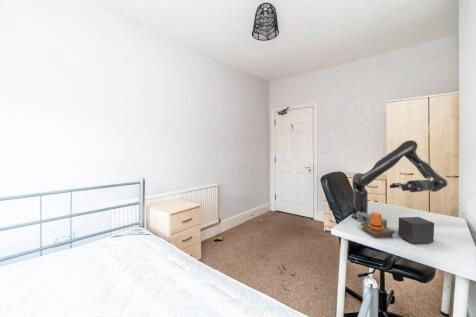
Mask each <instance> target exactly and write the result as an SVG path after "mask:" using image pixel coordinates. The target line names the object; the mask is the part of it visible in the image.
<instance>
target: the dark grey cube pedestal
mask: <svg viewBox="0 0 476 317" xmlns="http://www.w3.org/2000/svg"><path fill="white" fill-rule="evenodd" d="M398 237H400V238H402V239H404V240H405V241H408V242H409V243H411V244H414V245H420V244H421V245H425V244H429V243H434V241H435V238H434V237H435V222H433V221H430V220H428V219H426V218H422V217H420V216H404V217H401V216H399V217H398Z"/></svg>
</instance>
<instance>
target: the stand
mask: <svg viewBox="0 0 476 317" xmlns="http://www.w3.org/2000/svg"><path fill="white" fill-rule="evenodd" d="M368 224H369V223H363V222H360V226H361V227H362V231H363V232H365V233H366V234H368V235H369V236H371V237H372V238H374V239H385V238H387V239H388V238H391V239H392V238H393V235H394V234H395V230H393V229H391V228H389V227H388V226H387V227H386V226H384V225H383V226H384V227H385V228H384V229H373V228H370V227H368Z"/></svg>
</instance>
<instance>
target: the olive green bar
mask: <svg viewBox="0 0 476 317" xmlns="http://www.w3.org/2000/svg"><path fill="white" fill-rule="evenodd" d="M357 212H358V215H357V216H358V217H355V216H354V215H351V218H353V219H355V220H356V221H358V222H360V223H370V215H371V214H369V213H368V214H366V213H363V212H359V211H357ZM382 225H384V226H386V227H387V228H388V220H387V219H385V218H382Z"/></svg>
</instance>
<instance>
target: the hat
mask: <svg viewBox="0 0 476 317" xmlns="http://www.w3.org/2000/svg"><path fill="white" fill-rule="evenodd" d="M369 215H370V223H369V224H368V227H370V228H373V229H384V228H385V227H384V226H383V225H382V219H383V214H382V213H380V212H375V211H374V212H373V211H372V212H370V214H369Z"/></svg>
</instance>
